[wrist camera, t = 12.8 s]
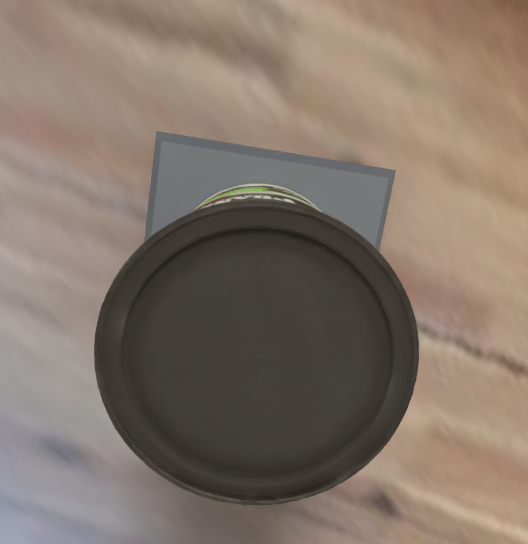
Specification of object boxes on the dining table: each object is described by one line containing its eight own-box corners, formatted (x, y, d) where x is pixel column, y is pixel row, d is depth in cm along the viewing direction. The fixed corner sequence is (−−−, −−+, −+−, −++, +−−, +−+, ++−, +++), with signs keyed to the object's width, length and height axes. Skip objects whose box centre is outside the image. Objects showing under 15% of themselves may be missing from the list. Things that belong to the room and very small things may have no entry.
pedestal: (142, 342, 35) (128, 364, 31) (166, 134, 32) (153, 130, 28) (341, 370, 35) (352, 395, 31) (381, 169, 32) (399, 170, 28)
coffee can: (138, 229, 29) (31, 286, 15) (301, 153, 28) (345, 140, 14) (215, 380, 31) (183, 552, 17) (370, 312, 30) (466, 436, 16)
